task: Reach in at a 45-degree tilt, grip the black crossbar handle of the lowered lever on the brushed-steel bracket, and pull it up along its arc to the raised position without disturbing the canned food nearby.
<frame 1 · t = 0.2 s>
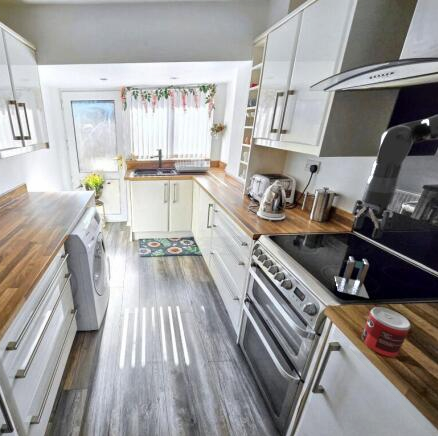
hand: (366, 232, 86), 24 cm above the counter, tool pointing down, fingers open, 8 cm apart
canned food: (377, 347, 70), on the counter
lever: (354, 263, 94), point 9 cm above the counter, hinge at -25.0°
bracket: (349, 288, 94), on the counter
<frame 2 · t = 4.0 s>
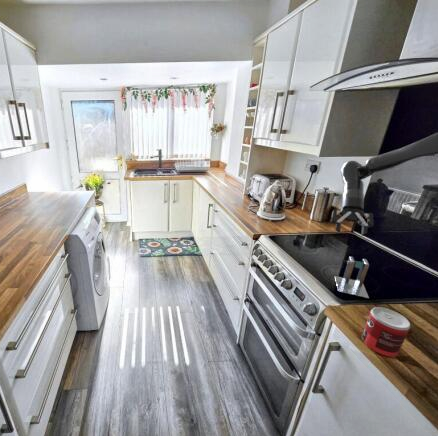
hand: (350, 233, 104), 16 cm above the counter, tool tilted 45°, fingers open, 8 cm apart
nothing on the counter moved.
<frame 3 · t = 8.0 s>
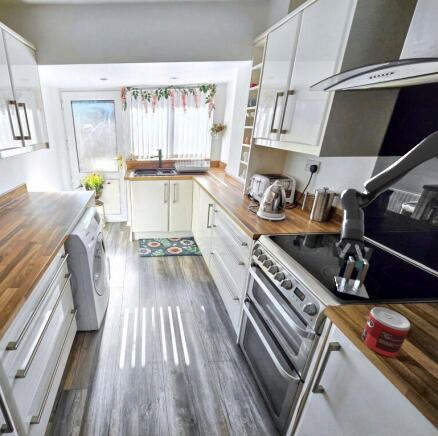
hand: (349, 268, 98), 5 cm above the counter, tool tilted 45°, fingers closed on lever, 5 cm apart
lever: (354, 263, 94), point 9 cm above the counter, hinge at -25.0°, touching gripper
everything else where it was.
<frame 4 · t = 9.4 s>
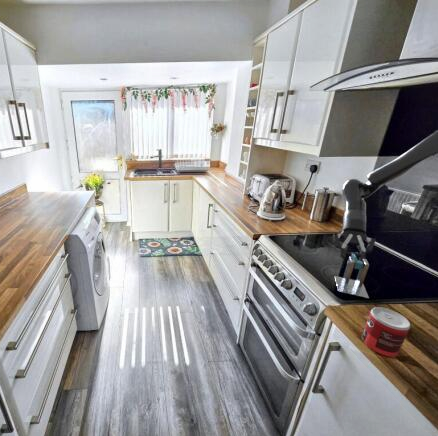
hand: (351, 259, 97), 9 cm above the counter, tool tilted 45°, fingers closed on lever, 5 cm apart
lever: (355, 259, 93), point 11 cm above the counter, hinge at -3.1°, touching gripper
everything else where it was.
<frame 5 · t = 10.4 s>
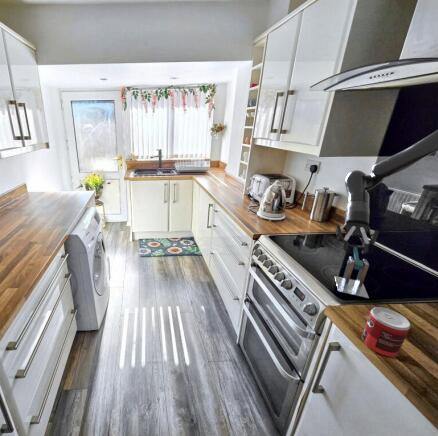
hand: (354, 251, 95), 13 cm above the counter, tool tilted 45°, fingers closed on lever, 5 cm apart
lever: (356, 255, 93), point 12 cm above the counter, hinge at 17.5°, touching gripper
everything else where it was.
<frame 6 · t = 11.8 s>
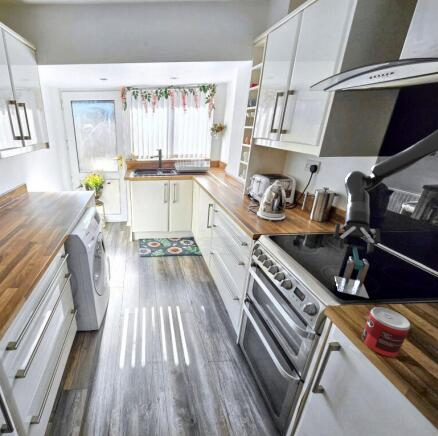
hand: (355, 250, 95), 13 cm above the counter, tool tilted 45°, fingers open, 8 cm apart
lever: (356, 256, 93), point 12 cm above the counter, hinge at 15.5°
everything else where it was.
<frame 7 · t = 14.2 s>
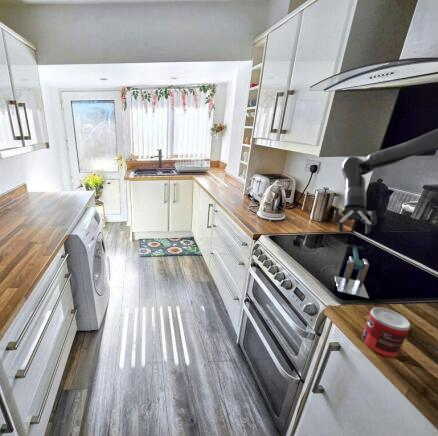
hand: (354, 232, 103), 16 cm above the counter, tool tilted 40°, fingers open, 8 cm apart
nothing on the counter moved.
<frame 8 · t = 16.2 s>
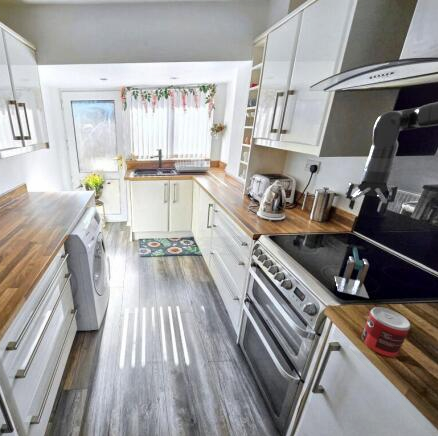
hand: (364, 210, 95), 28 cm above the counter, tool pointing down, fingers open, 8 cm apart
nothing on the counter moved.
at the end: lever at +16° (first picture: -25°); canned food moved 0.2 cm from its start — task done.
